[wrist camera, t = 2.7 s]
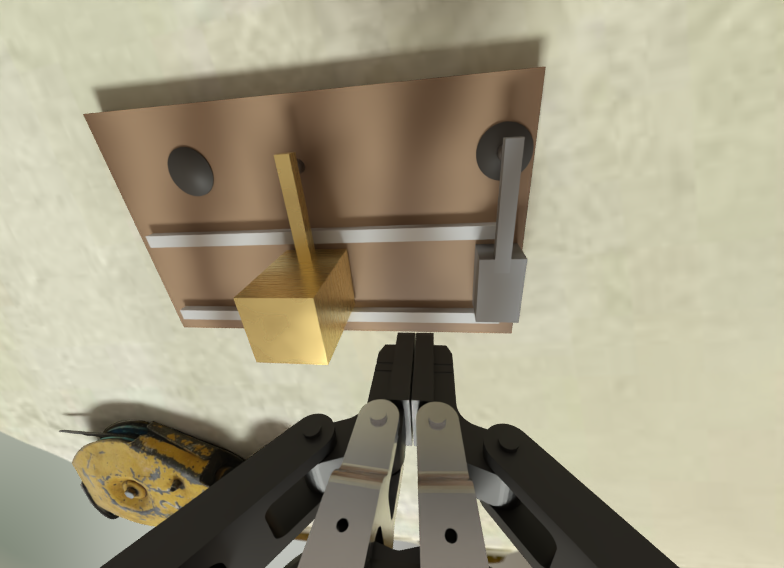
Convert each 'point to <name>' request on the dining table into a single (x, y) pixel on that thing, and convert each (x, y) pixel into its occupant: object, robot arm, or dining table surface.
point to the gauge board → (341, 195)
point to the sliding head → (297, 289)
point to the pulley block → (147, 470)
